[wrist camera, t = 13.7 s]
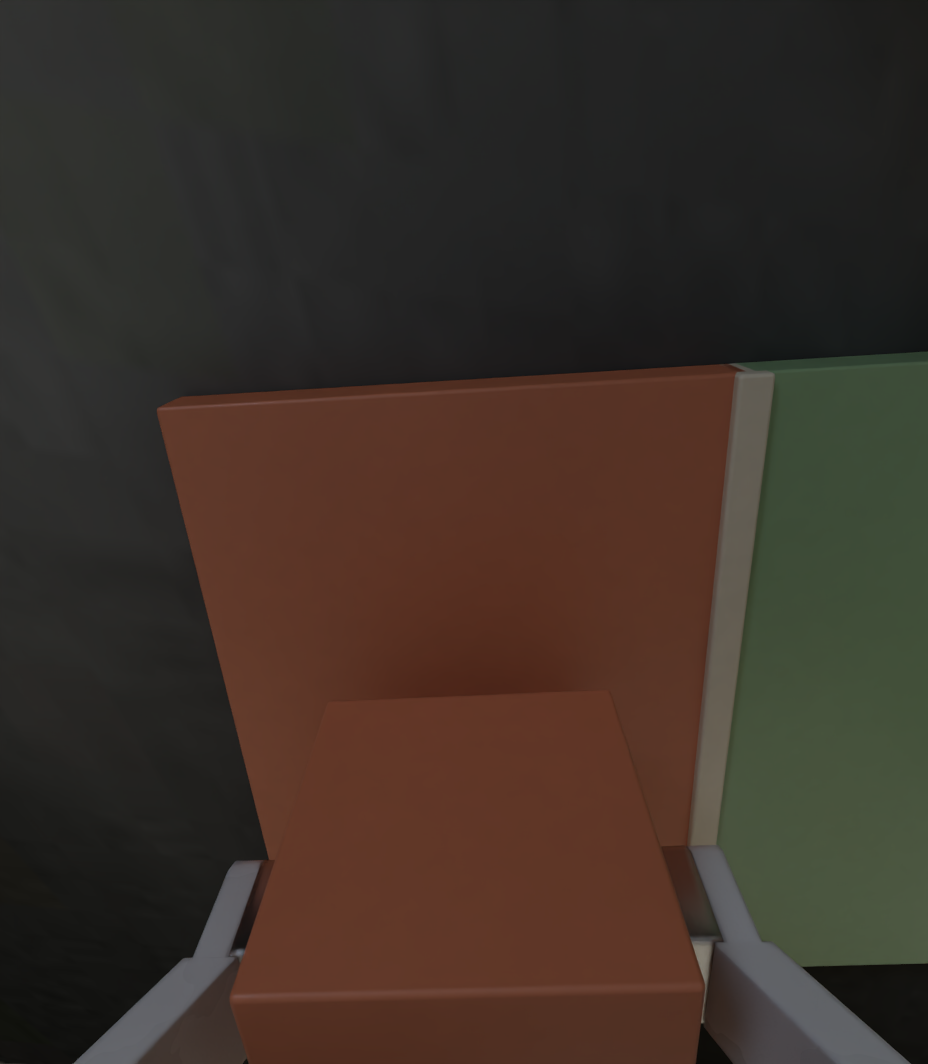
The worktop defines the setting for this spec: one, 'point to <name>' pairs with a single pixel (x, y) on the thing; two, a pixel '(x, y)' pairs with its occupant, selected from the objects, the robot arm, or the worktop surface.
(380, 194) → the worktop surface
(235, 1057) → the robot arm
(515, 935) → the terracotta block
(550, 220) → the worktop surface
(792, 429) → the mat
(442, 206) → the worktop surface
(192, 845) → the worktop surface
